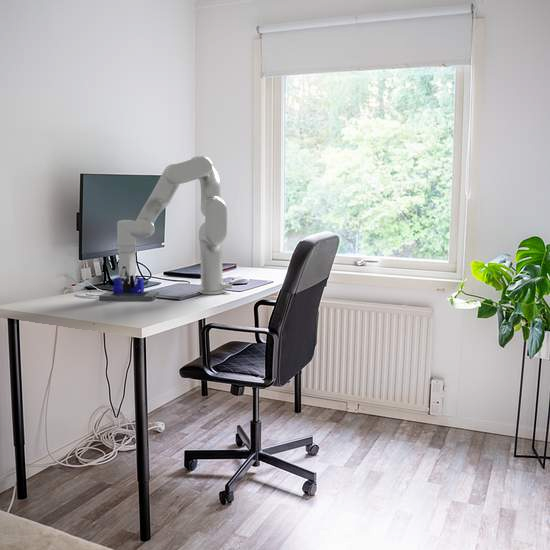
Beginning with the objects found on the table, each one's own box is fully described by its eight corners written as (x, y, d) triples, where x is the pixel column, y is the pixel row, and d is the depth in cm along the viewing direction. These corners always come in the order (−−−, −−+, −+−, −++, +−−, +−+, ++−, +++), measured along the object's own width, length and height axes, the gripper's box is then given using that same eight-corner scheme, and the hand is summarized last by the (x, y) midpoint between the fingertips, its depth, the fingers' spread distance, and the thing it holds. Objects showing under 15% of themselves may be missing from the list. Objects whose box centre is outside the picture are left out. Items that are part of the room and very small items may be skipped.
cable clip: (113, 293, 273) (112, 279, 272) (117, 291, 277) (116, 277, 276) (140, 293, 271) (139, 279, 270) (143, 292, 276) (143, 278, 275)
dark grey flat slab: (159, 296, 279) (158, 291, 278) (152, 301, 269) (152, 295, 268) (107, 295, 281) (107, 290, 280) (99, 300, 271) (99, 295, 271)
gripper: (125, 246, 280) (127, 288, 283) (111, 251, 263) (114, 295, 266) (141, 247, 279) (143, 288, 282) (129, 251, 263) (131, 295, 266)
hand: (129, 291), depth 274 cm, fingers closed on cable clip, 4 cm apart
